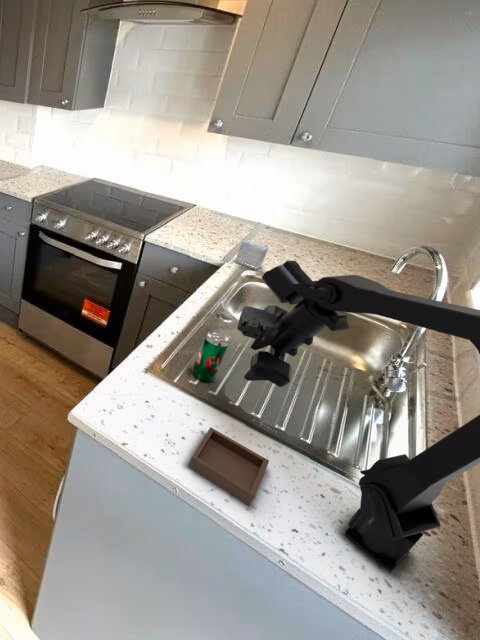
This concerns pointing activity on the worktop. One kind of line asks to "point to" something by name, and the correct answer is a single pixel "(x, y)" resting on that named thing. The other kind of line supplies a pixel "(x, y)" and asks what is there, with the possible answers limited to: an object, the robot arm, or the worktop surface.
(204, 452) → the tray
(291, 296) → the robot arm
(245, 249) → the medicine box
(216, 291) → the worktop surface
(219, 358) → the soda can
